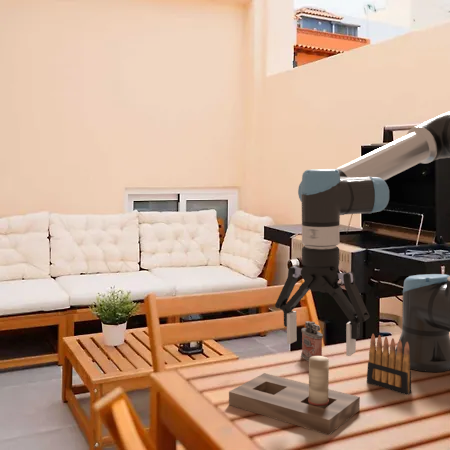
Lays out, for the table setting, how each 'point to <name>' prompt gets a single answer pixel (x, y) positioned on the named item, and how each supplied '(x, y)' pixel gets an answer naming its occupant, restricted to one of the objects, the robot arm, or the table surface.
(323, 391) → the birch dowel
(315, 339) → the lighter
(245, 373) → the table surface
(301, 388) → the walnut board
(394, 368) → the ammunition clip
